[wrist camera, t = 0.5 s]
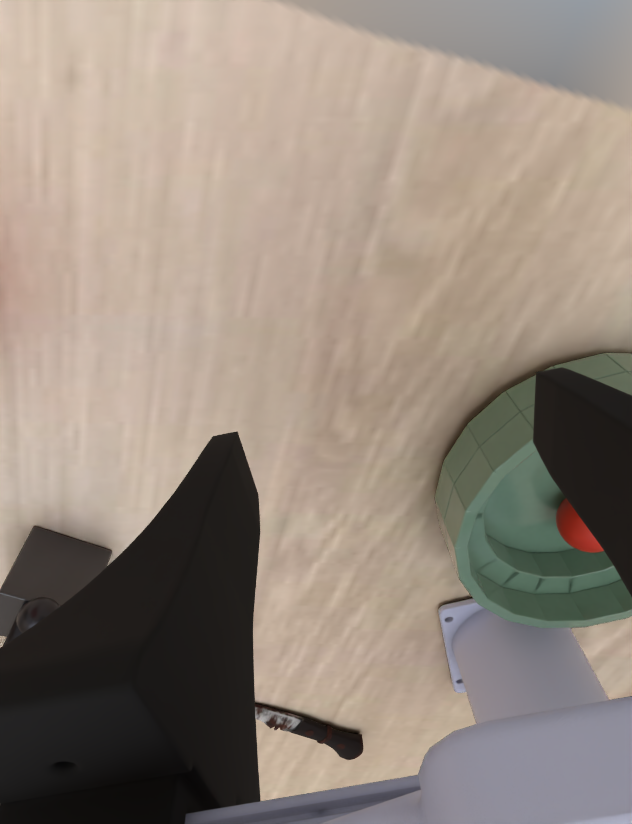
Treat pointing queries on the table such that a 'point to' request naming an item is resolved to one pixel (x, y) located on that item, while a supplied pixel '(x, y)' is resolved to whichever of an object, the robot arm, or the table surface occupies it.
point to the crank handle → (31, 616)
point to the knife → (312, 731)
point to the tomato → (575, 529)
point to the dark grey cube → (48, 572)
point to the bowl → (524, 516)
